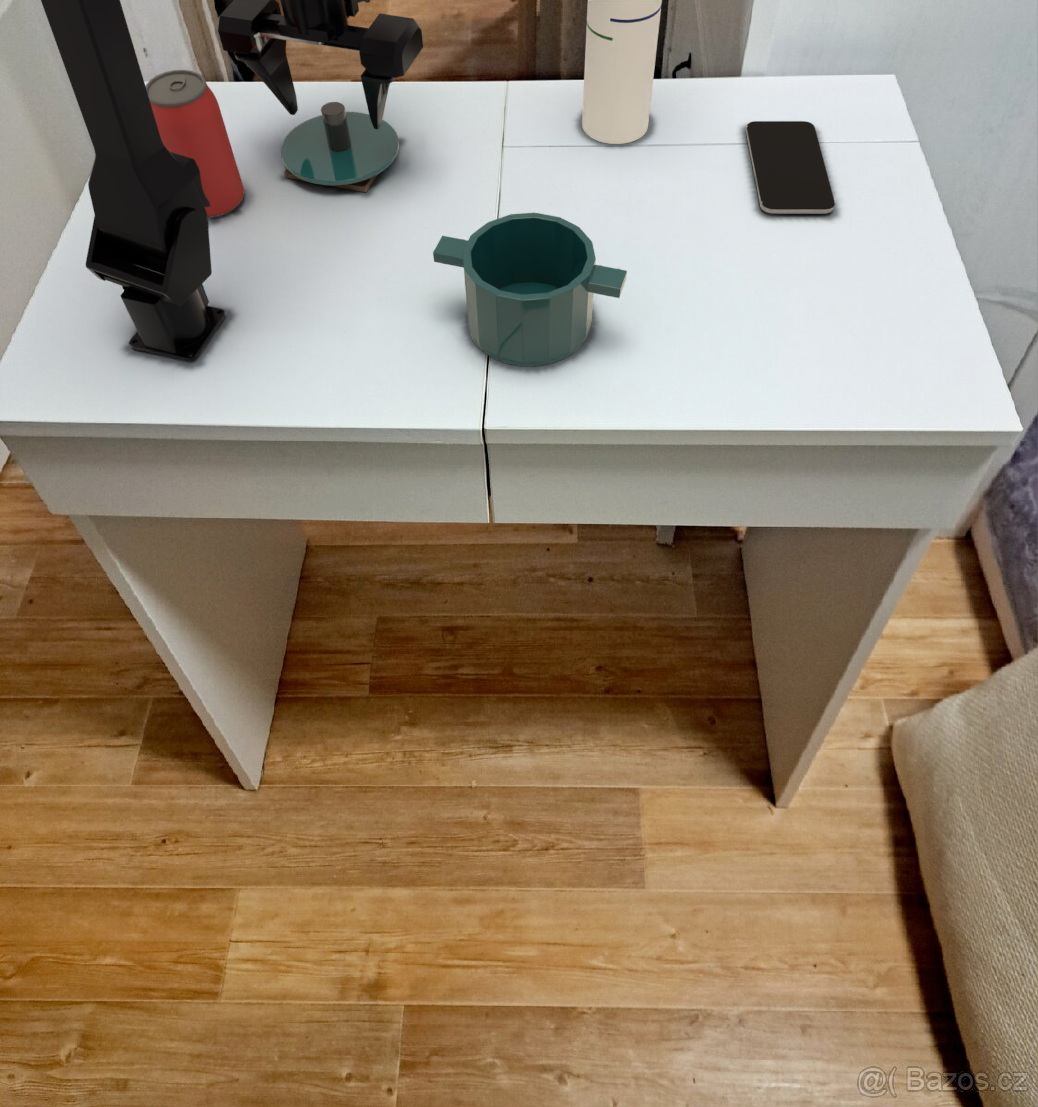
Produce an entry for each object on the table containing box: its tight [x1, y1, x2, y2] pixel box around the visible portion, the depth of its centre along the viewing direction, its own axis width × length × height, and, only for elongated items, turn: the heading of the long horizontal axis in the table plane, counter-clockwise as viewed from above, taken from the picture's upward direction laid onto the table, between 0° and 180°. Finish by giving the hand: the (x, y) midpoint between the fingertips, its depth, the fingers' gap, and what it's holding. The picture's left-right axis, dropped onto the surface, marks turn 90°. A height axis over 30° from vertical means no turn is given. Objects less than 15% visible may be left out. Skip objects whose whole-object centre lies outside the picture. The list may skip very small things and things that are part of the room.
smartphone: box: [745, 120, 836, 215], centre depth 95 cm, size 7×1×15 cm
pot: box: [432, 212, 628, 367], centre depth 80 cm, size 11×16×8 cm
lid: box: [280, 101, 400, 186], centre depth 94 cm, size 12×12×5 cm
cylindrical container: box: [581, 0, 663, 145], centre depth 89 cm, size 7×7×25 cm
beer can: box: [145, 69, 245, 218], centre depth 89 cm, size 7×7×12 cm
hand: (335, 119), depth 93 cm, fingers open, 9 cm apart
